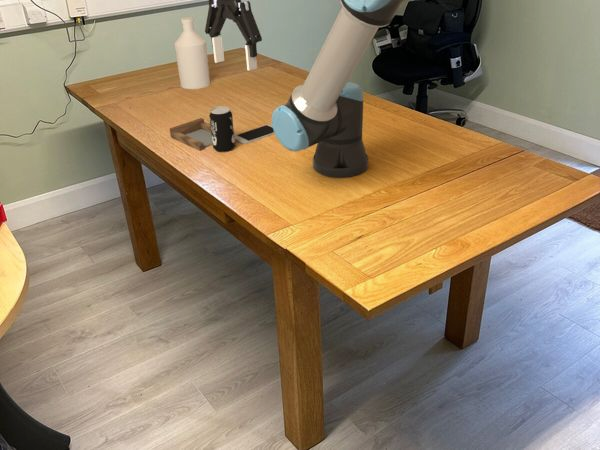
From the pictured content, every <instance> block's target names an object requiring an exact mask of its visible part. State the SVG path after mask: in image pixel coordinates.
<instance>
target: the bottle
mask: <svg viewBox="0 0 600 450" xmlns="http://www.w3.org/2000/svg"><path fill="white" fill-rule="evenodd" d="M180 23H181V24H182V29H183V31H182V32H181V34H180V35H179V36H178V38H177V39H176V40H175V42H174V43H173V44H174V45H173V46H174V51H175V57H176V64H177V70H178V76H179V82H180V87H181V88H182V89H186V90H198V89H202V88H206V87H208V86H210V84H211V81H210V69H209V60H208V51H207V50H208V49H207V41H206V40H205V38H204V37H201V36H200V35H199V34H198V33H197V32H196V31H195V30H194V17H193V16H192V17H191V16H185V17H181V18H180Z"/></svg>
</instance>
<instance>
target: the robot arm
mask: <svg viewBox="0 0 600 450" xmlns="http://www.w3.org/2000/svg"><path fill="white" fill-rule="evenodd" d="M409 1H410V0H339V2H340V5H341V9H340V10H339V13H338V14H337V17H336V19H335V21H334V23H333V25H332V27H331V29H330V31H329V32H328V34H327V37H326V38H325V41H324V43H323V44H322V47H321V49H320V50H319V53H318V54H317V57H316V59H315V60H314V63H313V65H312V67H311V69H310V71H309V73H308V75H307V77H306V79H305V81H304V83H303V84H299V85H297V86H296V87H295V88H294V89H293V91H292V92H291V95H290V96H289V98H288V100H287V102H286V103H285V104H282V105H278V106H277V107H276V108H274V110H273V112H272V115H271V124H272V127H273V129H274V133H275V134H274V135H275V137H276V138H277V140H278V142H279V144H280V145H282V147H283V148H285V149H287V150H288V151H292V152H300V151H303V150H304V151H305V150H307V149H308V148H311V147H312V146H315V145H316V147H315V152H314V154H313V157H312V168H313V170H315V172H316V173H318V174H321V175H322V176H326V177H331V178H348V177H349V178H350V177H351V178H352V177H356V176H358V175H361V174H363V173H364V172H366V171H367V170H368V168H369V156H368V154H367V152H366V147H365V143H364V141H363V125H364V124H363V123H364V120H363V119H364V101H365V100H364V90H363V88H362V87H361V85H359V84H358V83H355V82H352V81H349V80H350V79H351V77H352V75H353V73H354V71H355V70H356V68H357V66H358V65H359V63H360V62H361V59H362V57H363V55H364V54H365V52H366V50H367V49H368V47H369V45H370V43H371V42H372V41H373V38H374V37H375V35H376V33H377V32H378V30H379V28H383V27H387V26H389V25H390V23H391V22H392V21H393V19H394V17H395V16H396V14H397V12H398V10H399V8H400V7H401V5H402V4H403V3H405V2H409ZM227 19H228V20H232V22H233V23H235V24H236V26H237V28H238V29H239V31H240V33H241V35H242V37H243V38H244V41H246V43H245V44H244V46H245V47H244V49H245V59H246V70H247V71H249V72H250V71H253V70H256V69H258V61H257V56H258V51H257V43H259V42H262V40H263V38H262V37H263V36H262V35H261V31H260V29H259V27H258V25H257V22H256V19H255V16H254V14H253V12H252V6H251V2H250V1H249V0H248V1H247V0H246V1H243V2H242V0H208V13H207V17H206V23H205V27H204V32H205V34H206V35H209V37H210V39H211V47H212V49H213V58H214V63H215V64H218V63H220V62H225V54H224V53H225V52H224V45H223V38H222V33H221V31H222V30H223V27H224V25H225V22H226V20H227Z"/></svg>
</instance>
